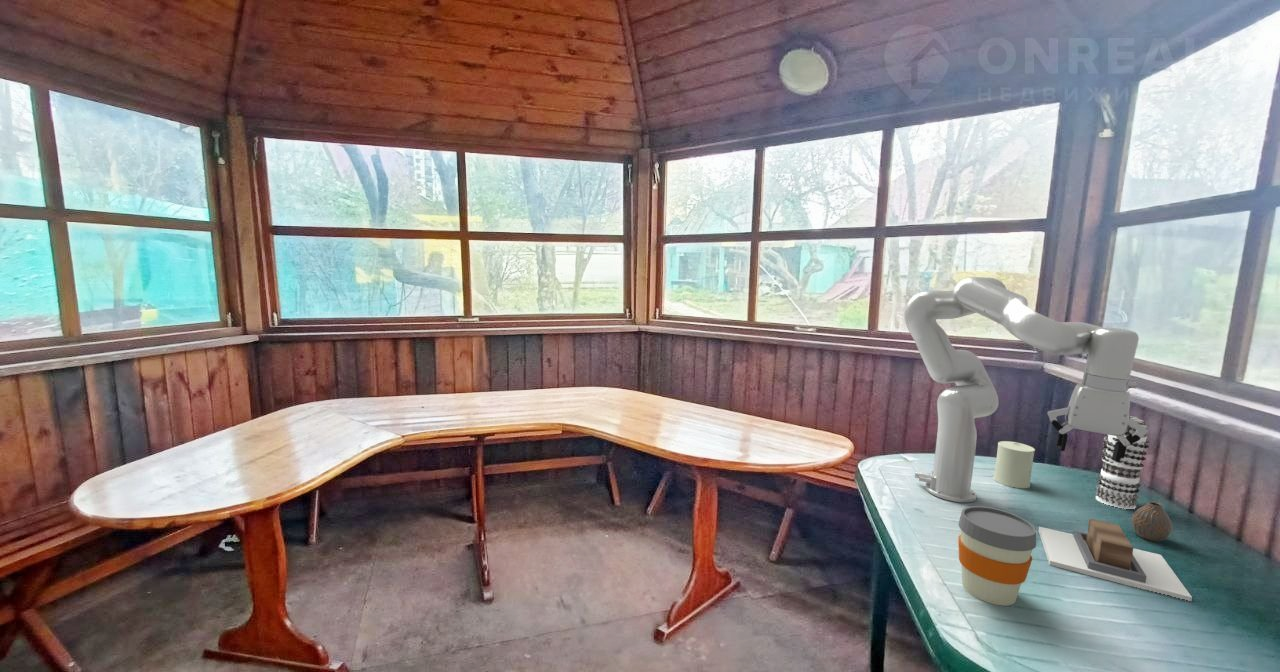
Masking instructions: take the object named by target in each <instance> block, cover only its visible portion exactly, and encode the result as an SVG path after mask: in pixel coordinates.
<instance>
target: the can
mask: <svg viewBox="0 0 1280 672" xmlns="http://www.w3.org/2000/svg"><path fill="white" fill-rule="evenodd" d="M1035 451H1036V449H1035V448H1034V447H1033V446H1030V445H1029V444H1028V445H1027V444H1024V443H1022V442H1021V443H1020V442H1017V441H1009V440H1008V441H1007V440H1002V441H998V442H997V453H996V459H995V467H994V474H993V477H992V478H993V480H994V481H995V482H997V483H999V484H1001V485H1004V486H1005V487H1010V488H1014V487H1015V489H1029V488H1030V487H1031V476H1032V469H1033V463H1034V456H1035Z"/></svg>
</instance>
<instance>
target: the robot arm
mask: <svg viewBox="0 0 1280 672" xmlns="http://www.w3.org/2000/svg"><path fill="white" fill-rule="evenodd" d="M1028 305H1029V303H1028V299H1027V298H1026V297H1025V296H1023V295H1021V294H1019V293H1016V292H1015V291H1012V290H1009V289H1007V287H1006V285H1005V284H1004V283H1003V282H1002V281H1001V280H999V279H997V278H995V277H988V276H987V277H985V276H983V277H982V276H971V277H970V276H969V277H967V278H963V279H962V280H960V281H958V283H957V284H955V286H954V288H953V290H925V291H921V292H918V293H916V294H915V295H913V296H912V297H911V298H910V299H909V300H908V302H907V304H906V306H905V310H904V321H905V325H906V328H907V330H908V332H909V333H910V335H911V337H912V339H913V341H914V343H915V345H916V347H917V350H918V353H919V354H920V356H921V359H922V361H923V364H924V366H925V368H926V370H927V372H928V374H929V376H930V378H931V379H932V380H933V381H935V382H936V383H939V384H952V383H953V384H955V385H954V386H950V387H947V388H946V389H944V390H943V391H942V392H940V394H939V396H938V398H937V402H936V407H937V434H936V442H935V452H934V462H933V470H932V471H931V472H927V473H923V472H920V471H915V475H914V478H915V479H918V481H919V482H925V490H926V491H927V492H928V493H930V495H933V496H934V497H938V498H939V499H943V500H947V501H950V502H955V503H972V502H974V501H976V500H977V493H976V492H975V491H974V489H973V490H972V480H973V473H974V464H975V457H976V447H977V440H978V439H977V436H978V434H977V433H978V432H977V428H976V427H977V426H976V423H975V419H977V418H984V417H988V416H991V415H993V414H994V413H995V412H996V411H997V410H998V407H999V402H1000V401H999V396H998V392H997V391H996V388H995V387H994V384H993V382H992V380H991V378H990V376H989V374H988V372H987V370H986V368H985V366H984V364H983V362H982V361H981V359H980V358H979V357H978V356H977V355H976V354H975V353H974V352H972V351H970V350H967V349H955V348H954V346H953V344H952V342H951V341H950V338H949V336H948V334H947V333H946V331H945V330H944V329H943V328H942V327H941V325H939V324H938V322H937V320H953V319H959V318H964V317H966V316H969V315H974V314H979V315H981V316H983V317H985V318H987V319H989V320H991V321H993V322H995V323H997V324H998V325H1001V326H1003V327H1004V329H1005V330H1006V331H1008V332H1009V333H1010V334H1011V335H1012V336H1013V337H1015V338H1016V339H1018V340H1020V341H1021V342H1023V343H1025V344H1027V345H1030V346H1031V347H1033V348H1036V349H1038V350H1039V351H1042V352H1045V353H1047V354H1050V355H1054V356H1067V355H1083V354H1084V355H1087V358H1086V363H1085V367H1084V371H1083V376H1082V382H1081V383H1076V385H1075V386H1074V389H1073V391H1072V393H1071V396H1070V400H1069V402H1068V406H1067V407H1064V408H1059V409H1058V408H1056V409H1053V410H1052V409H1051V410H1048V411H1047V412H1046V413H1047V416H1048V418H1049V421H1050V423H1051V425H1052V426H1053V427H1054V428H1055V430H1057V432H1058V433H1057V437H1056V444H1055V445H1056V446H1058V449H1059V450H1060V452H1065V449H1066V446H1067V442H1068V437H1069V435H1068V434H1067V433H1068V432H1070V431H1071V430H1073V429H1076V430H1081V431H1087V432H1092V433H1097V434H1103V435H1106V436H1108V435H1113V436H1116V437H1117V438H1118V439H1119V440H1118V441H1117V442H1116V443H1115V447H1114V452H1113V456H1112V458H1113V459H1114V460H1115V461H1116V462H1120V459H1121V458H1122V459H1124V456H1125V452H1126V448H1127V446H1129V445H1130V444H1132V443H1134V442H1137V441H1139V440H1140V438H1141V437H1143V436H1144V435H1145V434H1146V435H1147V434H1148V433H1149V430H1148V428H1147V429H1146V428H1145V427H1143V426H1141V425H1140V424H1138V423H1136V422H1135V421H1133V420H1131V419H1129V416H1130V407H1131V393H1130V392H1129V391H1128V390H1129V389H1136V388H1137V387H1138V383H1137V382H1136V381H1133V380H1131V379H1130V378H1131V373H1132V368H1133V365H1134V361H1135V357H1136V352H1137V349H1138V344H1139V339H1140V338H1139V335H1138V333H1137V332H1135V331H1132V330H1129V329H1125V328H1124V329H1123V328H1117V327H1103V326H1099V325H1095V324H1091V323H1088V322H1081V321H1063V322H1060V321H1058V320H1055V319H1053V318H1050V317H1048V316H1045V315H1043V314H1041V313H1039V312H1037V311H1036V310H1033V309H1032V308H1031V307H1029V306H1028ZM1064 415H1065V418H1064V419H1065V422H1063V423H1062V424H1061V423H1060V422H1059V421H1058V419H1057V418H1058V417H1060V416H1064ZM1128 425H1129V426H1131V427H1132V428H1134V429H1136V431H1135V433H1134V434H1131V435H1129V436H1127V437H1125V436H1124V434H1125V433H1126V430H1127V426H1128Z"/></svg>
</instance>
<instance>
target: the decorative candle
mask: <svg viewBox="0 0 1280 672" xmlns="http://www.w3.org/2000/svg"><path fill="white" fill-rule="evenodd" d="M1129 419H1131V420H1133V421H1135V422H1136V423H1138V424H1140V425H1141V426H1143V427H1145V428H1146V429H1147V430H1148V428H1150V427H1149V426H1150V425H1149V424H1147V423H1146V422H1145V421H1144V420H1143V419H1142V418H1140V417H1137V416H1132V415H1129ZM1135 431H1136V429H1134V428H1132V427H1131V426H1129V425H1128V426H1127V430H1126V433H1125V434H1124V436H1125V437H1127V436H1129V435H1131V434H1134V433H1135ZM1147 438H1148V437H1147V433H1146V434H1145V435H1144V436H1143V437H1141V438H1140V440H1139V441H1137V442H1134V443H1132V444H1130V445H1129V446H1127V448H1126V452H1125V456H1124V459H1122V458H1121V459H1120V462H1116V461H1115V460H1114V459H1113V458H1112V456H1113V452H1114V447H1115V443H1116V442H1117V441H1118V440H1119V439H1118V438H1117V437H1116V436H1113V435H1106V436H1104V437H1103V438H1102V440H1103V441H1104V442H1103V443H1102V444H1101V445H1102V446H1103V447H1102V448H1103V450H1101V452H1102V455H1101V456H1100V458H1101V460H1102V462H1103V463H1102V468H1101V469H1100V474H1099V475H1098V478H1099V479H1098V480H1097V483H1098V484H1097V485H1096V489H1097V490H1096V491H1095V494H1096V495H1095V500H1096V501H1098V502H1099V503H1102V504H1103V503H1104V504H1103V505H1105V504H1106V505H1105V506H1108V505H1110V506H1109V507H1111V506H1114V507H1113V508H1115V507H1118V508H1117V509H1119V508H1122V509H1121V510H1126V509H1134V510H1135V508H1136V509H1137V504H1138V503H1139V502H1138V501H1137V500H1138V499H1139V498H1140V497H1139V495H1138V494H1137V493H1139V492H1140V489H1139V488H1141V484H1140V478H1141V477H1140V475H1141V474H1140V473H1141V470H1142V469H1144V466H1145V465H1144V464H1143V463H1142V462H1143V461H1146V460H1147V459H1146V457H1145V455H1147V454H1148V453H1147V451H1145V450H1144V449H1147V448H1149V445H1148V444H1147V443H1150V440H1148V439H1147ZM1123 508H1124V509H1123Z"/></svg>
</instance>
